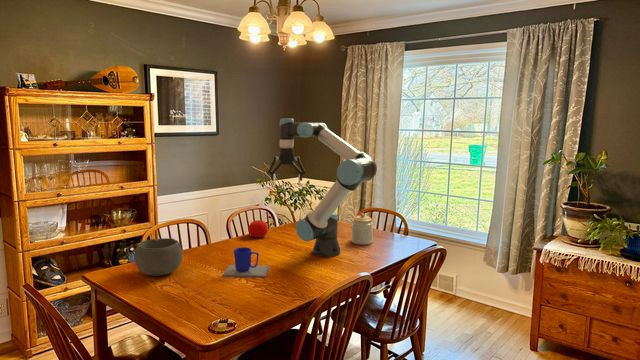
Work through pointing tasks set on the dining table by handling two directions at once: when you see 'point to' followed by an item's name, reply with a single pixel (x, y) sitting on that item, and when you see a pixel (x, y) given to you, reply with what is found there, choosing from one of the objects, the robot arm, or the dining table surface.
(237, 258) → the mug
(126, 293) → the dining table surface
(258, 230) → the tomato
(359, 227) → the jar
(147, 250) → the bowl
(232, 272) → the plate
